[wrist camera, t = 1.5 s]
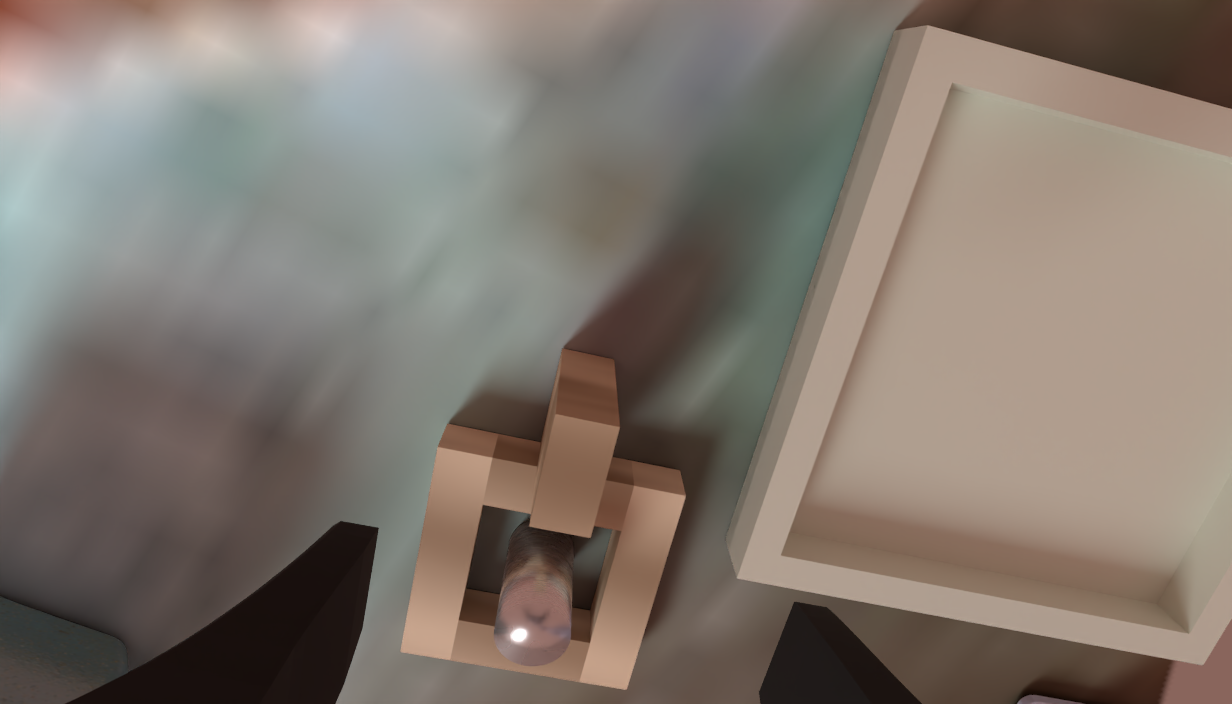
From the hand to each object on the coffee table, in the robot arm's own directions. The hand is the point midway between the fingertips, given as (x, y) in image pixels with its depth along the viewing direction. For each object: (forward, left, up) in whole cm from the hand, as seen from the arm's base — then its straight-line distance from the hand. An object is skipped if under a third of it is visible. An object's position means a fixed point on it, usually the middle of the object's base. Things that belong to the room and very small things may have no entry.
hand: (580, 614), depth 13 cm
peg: (-5, 0, -10) cm, 11 cm away
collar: (-4, 0, -10) cm, 10 cm away
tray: (+4, -13, -10) cm, 16 cm away
